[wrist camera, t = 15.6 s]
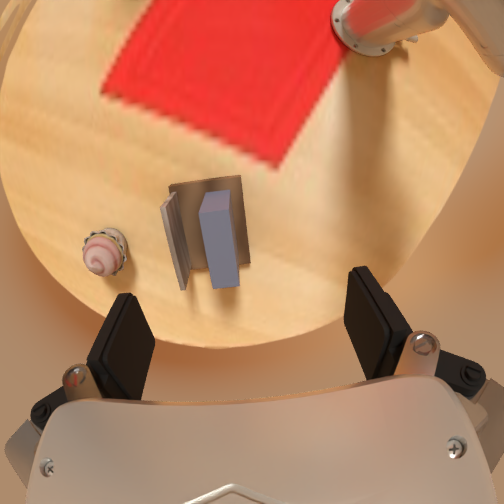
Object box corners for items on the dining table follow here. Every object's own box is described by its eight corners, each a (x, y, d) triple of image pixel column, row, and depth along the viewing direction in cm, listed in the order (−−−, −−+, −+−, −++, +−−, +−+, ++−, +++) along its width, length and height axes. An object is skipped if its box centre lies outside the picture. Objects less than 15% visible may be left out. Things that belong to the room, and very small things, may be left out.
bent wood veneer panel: (240, 174, 45) (241, 189, 37) (250, 259, 52) (253, 288, 44) (170, 184, 45) (155, 201, 36) (187, 265, 52) (179, 295, 44)
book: (230, 189, 45) (228, 209, 36) (238, 254, 50) (239, 286, 41) (205, 192, 44) (198, 213, 36) (216, 256, 50) (213, 288, 41)
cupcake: (143, 240, 49) (126, 267, 40) (120, 271, 52) (103, 300, 43) (105, 209, 46) (81, 231, 37) (85, 244, 49) (62, 269, 40)
